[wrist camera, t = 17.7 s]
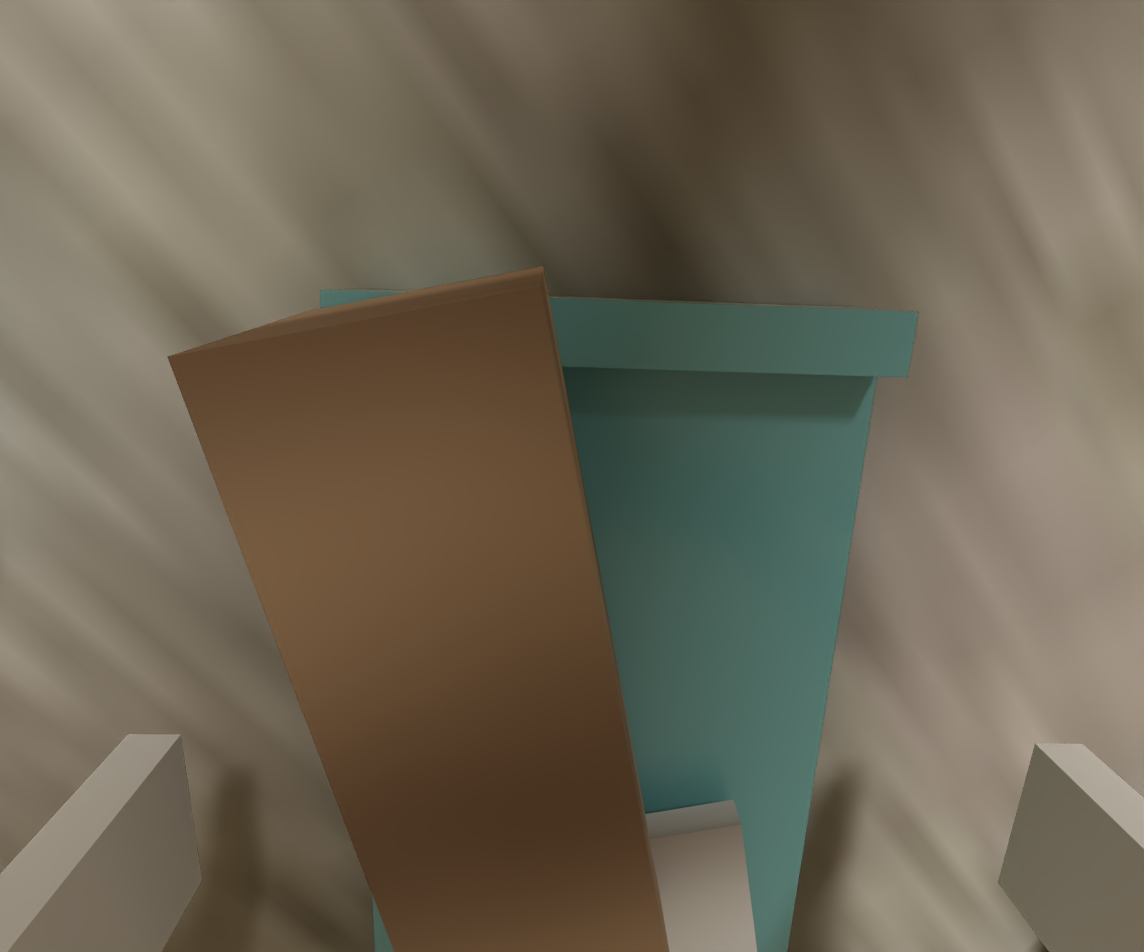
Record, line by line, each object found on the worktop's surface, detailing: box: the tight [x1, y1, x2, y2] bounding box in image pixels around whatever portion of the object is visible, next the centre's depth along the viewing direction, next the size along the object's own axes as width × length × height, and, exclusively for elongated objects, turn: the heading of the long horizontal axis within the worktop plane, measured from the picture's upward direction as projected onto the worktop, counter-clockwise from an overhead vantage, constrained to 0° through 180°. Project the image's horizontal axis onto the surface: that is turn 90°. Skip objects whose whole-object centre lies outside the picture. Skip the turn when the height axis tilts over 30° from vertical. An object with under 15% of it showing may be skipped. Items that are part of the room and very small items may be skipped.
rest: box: [320, 289, 919, 952], centre depth 13 cm, size 16×9×2 cm, turn 178°
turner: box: [168, 266, 757, 952], centre depth 12 cm, size 22×7×4 cm, turn 10°
